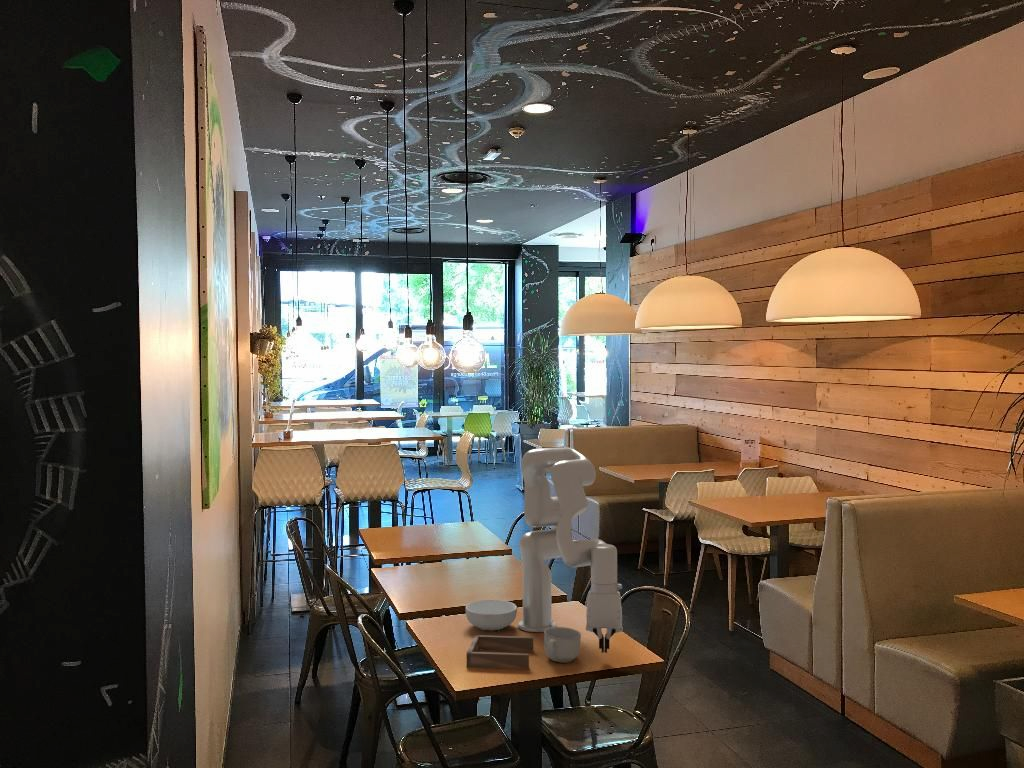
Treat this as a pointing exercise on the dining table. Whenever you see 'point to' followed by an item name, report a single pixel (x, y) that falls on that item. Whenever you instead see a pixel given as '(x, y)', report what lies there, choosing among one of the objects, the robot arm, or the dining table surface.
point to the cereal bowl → (491, 614)
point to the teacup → (561, 643)
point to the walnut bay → (499, 659)
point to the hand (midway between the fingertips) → (604, 651)
